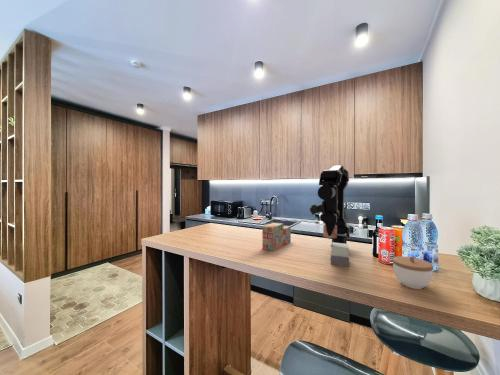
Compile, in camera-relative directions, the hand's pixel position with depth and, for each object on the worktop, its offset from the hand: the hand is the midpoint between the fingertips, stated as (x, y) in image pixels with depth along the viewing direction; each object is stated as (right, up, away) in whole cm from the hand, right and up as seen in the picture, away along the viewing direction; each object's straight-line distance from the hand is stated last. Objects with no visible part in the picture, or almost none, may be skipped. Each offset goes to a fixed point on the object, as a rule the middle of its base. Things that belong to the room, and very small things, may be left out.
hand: (330, 234), depth 91 cm
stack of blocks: (-20, -12, +25) cm, 34 cm away
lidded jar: (+19, -12, -21) cm, 31 cm away
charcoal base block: (+4, -12, -1) cm, 13 cm away
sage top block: (+4, -8, -1) cm, 9 cm away
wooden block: (0, -1, 0) cm, 1 cm away
